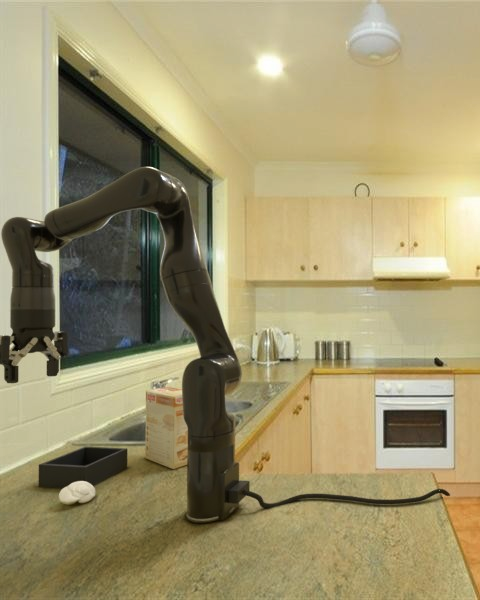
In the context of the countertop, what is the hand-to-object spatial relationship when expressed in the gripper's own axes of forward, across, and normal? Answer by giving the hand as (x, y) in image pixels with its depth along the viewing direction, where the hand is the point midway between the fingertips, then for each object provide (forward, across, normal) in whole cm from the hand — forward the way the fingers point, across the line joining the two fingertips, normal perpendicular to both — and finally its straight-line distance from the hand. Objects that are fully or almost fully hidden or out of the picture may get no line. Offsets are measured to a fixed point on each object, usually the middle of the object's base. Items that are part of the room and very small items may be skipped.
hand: (33, 379), depth 91 cm
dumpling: (+27, 0, -11) cm, 29 cm away
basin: (+27, +12, -1) cm, 30 cm away
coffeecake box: (+27, +25, -14) cm, 40 cm away
